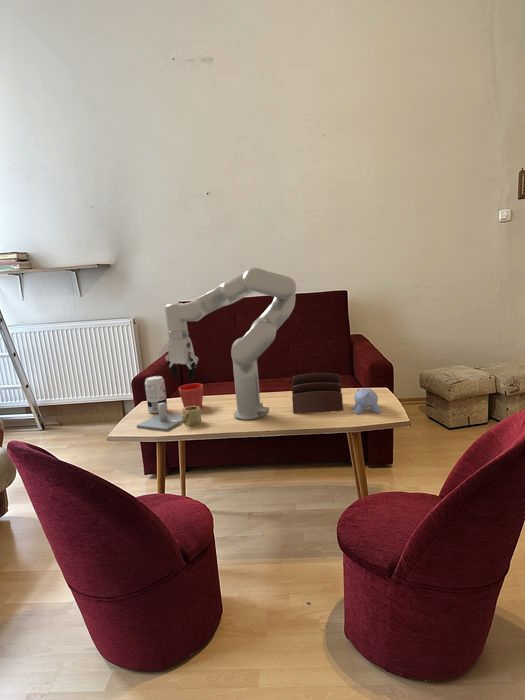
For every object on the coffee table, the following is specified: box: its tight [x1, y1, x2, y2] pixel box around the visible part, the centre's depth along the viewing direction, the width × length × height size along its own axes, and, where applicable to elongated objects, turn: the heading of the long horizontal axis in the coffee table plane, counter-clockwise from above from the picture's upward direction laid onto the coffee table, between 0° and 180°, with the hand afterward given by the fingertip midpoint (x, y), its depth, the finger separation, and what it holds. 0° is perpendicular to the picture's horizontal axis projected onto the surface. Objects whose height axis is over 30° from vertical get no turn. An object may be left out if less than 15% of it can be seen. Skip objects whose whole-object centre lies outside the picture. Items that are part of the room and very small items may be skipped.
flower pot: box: [178, 382, 204, 409], centre depth 198 cm, size 11×11×10 cm
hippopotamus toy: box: [351, 387, 383, 415], centre depth 177 cm, size 11×15×10 cm
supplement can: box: [144, 375, 168, 414], centre depth 196 cm, size 8×8×15 cm
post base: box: [136, 403, 184, 432], centre depth 181 cm, size 15×15×8 cm
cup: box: [181, 406, 203, 427], centre depth 177 cm, size 9×7×6 cm
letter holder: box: [291, 372, 344, 414], centre depth 183 cm, size 10×20×14 cm, turn 85°
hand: (183, 377), depth 178 cm, fingers open, 9 cm apart
